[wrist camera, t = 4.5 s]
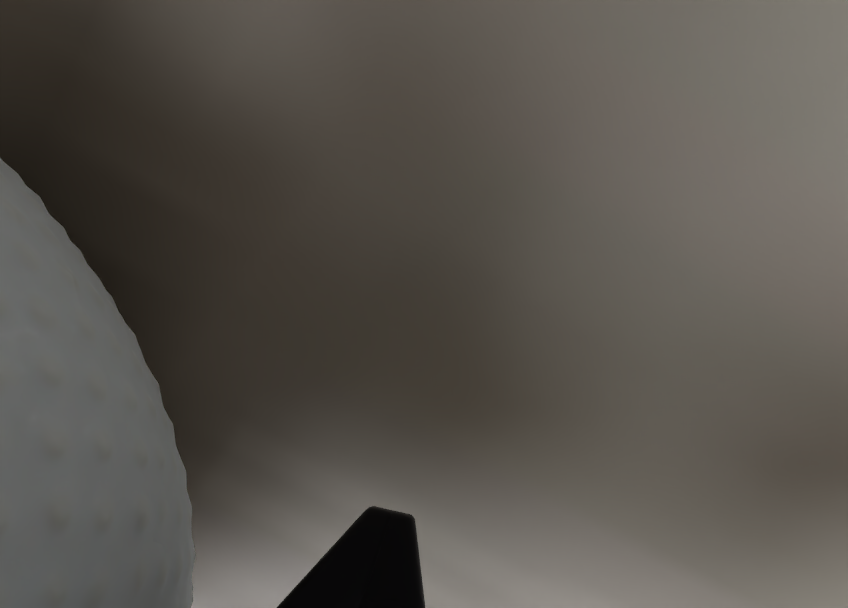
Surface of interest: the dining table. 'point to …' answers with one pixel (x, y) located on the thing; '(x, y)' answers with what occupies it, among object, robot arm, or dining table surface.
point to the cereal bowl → (80, 435)
